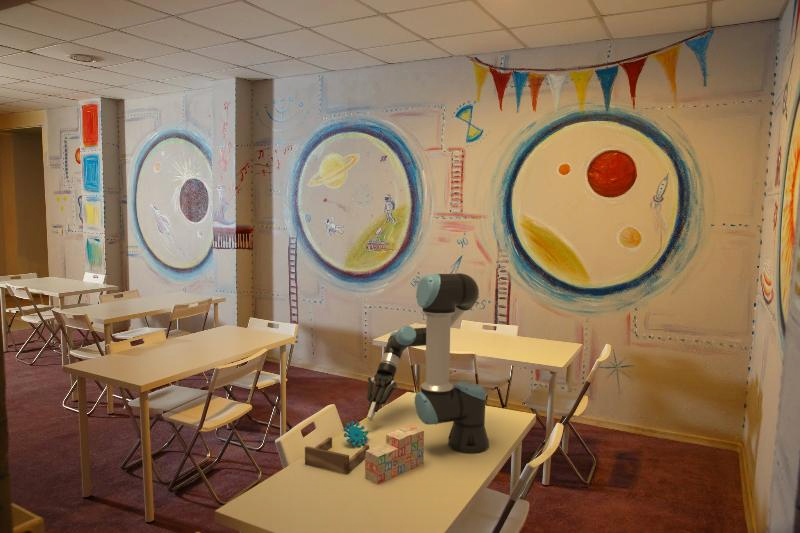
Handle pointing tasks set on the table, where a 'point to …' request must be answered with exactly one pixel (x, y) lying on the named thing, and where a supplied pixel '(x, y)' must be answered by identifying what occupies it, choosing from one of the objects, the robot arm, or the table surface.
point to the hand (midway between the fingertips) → (369, 418)
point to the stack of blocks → (395, 454)
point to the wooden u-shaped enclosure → (333, 458)
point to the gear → (355, 434)
